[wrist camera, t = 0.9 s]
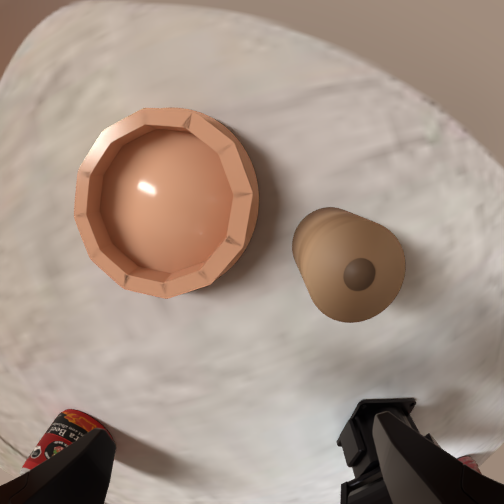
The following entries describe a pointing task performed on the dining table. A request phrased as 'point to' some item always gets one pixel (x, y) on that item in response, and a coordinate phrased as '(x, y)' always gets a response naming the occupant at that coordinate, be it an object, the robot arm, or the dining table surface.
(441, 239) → the dining table surface
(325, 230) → the bead
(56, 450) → the canned food
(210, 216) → the dish
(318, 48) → the dining table surface
